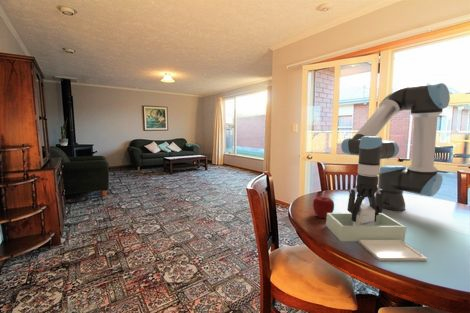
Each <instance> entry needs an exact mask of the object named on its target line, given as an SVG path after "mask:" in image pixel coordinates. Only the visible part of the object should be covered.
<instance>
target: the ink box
mask: <svg viewBox="0 0 470 313" xmlns="http://www.w3.org/2000/svg"><path fill="white" fill-rule="evenodd" d="M357 214H358V215H359V223H358V226H373V225H374V217H375V210H374V209H373V208H372V207H371V206H370V204H369V203H366V202H365V203H364V202H362V203H361V206H360V208H359V211H358V213H357Z"/></svg>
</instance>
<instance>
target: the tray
mask: <svg viewBox="0 0 470 313" xmlns="http://www.w3.org/2000/svg"><path fill="white" fill-rule="evenodd" d="M358 243H359V244H360V245H361V246H362V247H363V248H364V249H365V250H367V252H368V253H370V254H371V255H372V256H373V258H374V259H376V260H377V261H378V262H427V258H428V257H426V256H425V255H424V254H422V253H421V252H419V251H418V250H416V249H414V248H413V247H411V246H410V245H408V244H407V243H406V242H405V241H401V240H359V241H358Z"/></svg>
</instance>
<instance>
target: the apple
mask: <svg viewBox="0 0 470 313" xmlns="http://www.w3.org/2000/svg"><path fill="white" fill-rule="evenodd" d="M312 204H313V205H312V206H313V211H314V213H315V215H316V216H317V217H318V218H320V219H327V213H334V209H335V203H334V200H332V199H331V198H329V197H326V196H325V197H324V196H317V197H315V198H314V199H313V203H312Z"/></svg>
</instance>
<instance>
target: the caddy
mask: <svg viewBox="0 0 470 313" xmlns="http://www.w3.org/2000/svg"><path fill="white" fill-rule="evenodd" d="M378 214H379V215H377V216H376V222H374V226H353V221H352V213H350V212H332V213H327V218H326V222H325V226H326V227H327V228H328V229H329V230H330V232H332V234H333V235H334V236H335V237H336V238H337V239H338V240H339V241H340V242H359V240H401V241H403V242H405V241H406V233H407V232H406V231H407V226H406V225H404V224H402V223H400V222H399V221H398V220H395V219H393V218H392V217H390V216H388V215H386V214H385V213H383V212H382V213H378Z"/></svg>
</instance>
